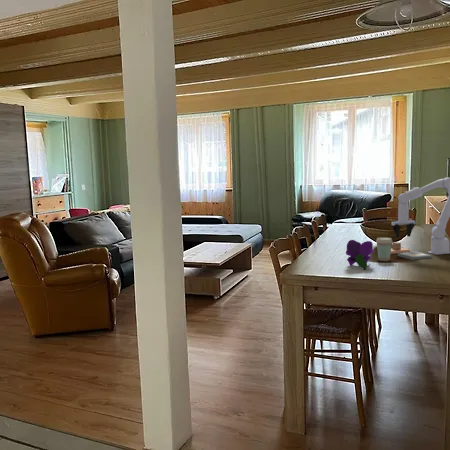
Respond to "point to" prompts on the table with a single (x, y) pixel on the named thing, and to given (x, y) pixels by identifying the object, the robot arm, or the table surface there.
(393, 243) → the pink panel with block
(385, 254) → the coffee cup
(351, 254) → the flower
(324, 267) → the table surface
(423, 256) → the ticket board
